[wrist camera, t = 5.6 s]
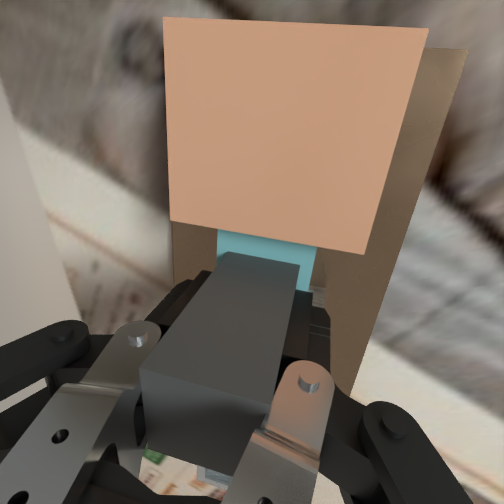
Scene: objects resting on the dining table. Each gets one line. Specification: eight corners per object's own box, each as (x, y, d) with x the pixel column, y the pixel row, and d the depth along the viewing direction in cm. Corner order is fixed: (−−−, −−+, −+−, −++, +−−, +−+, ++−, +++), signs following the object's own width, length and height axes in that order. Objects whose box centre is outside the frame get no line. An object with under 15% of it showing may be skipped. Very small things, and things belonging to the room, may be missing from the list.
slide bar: (244, 117, 13) (82, 119, 4) (338, 127, 12) (356, 152, 4) (228, 356, 19) (146, 544, 11) (289, 372, 18) (254, 587, 10)
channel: (176, 38, 14) (118, 9, 10) (458, 55, 11) (519, 26, 8) (184, 415, 25) (158, 466, 22) (323, 458, 23) (322, 522, 20)
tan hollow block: (220, 50, 12) (163, 16, 8) (392, 61, 11) (429, 28, 7) (215, 191, 15) (170, 220, 11) (354, 212, 14) (364, 254, 10)
